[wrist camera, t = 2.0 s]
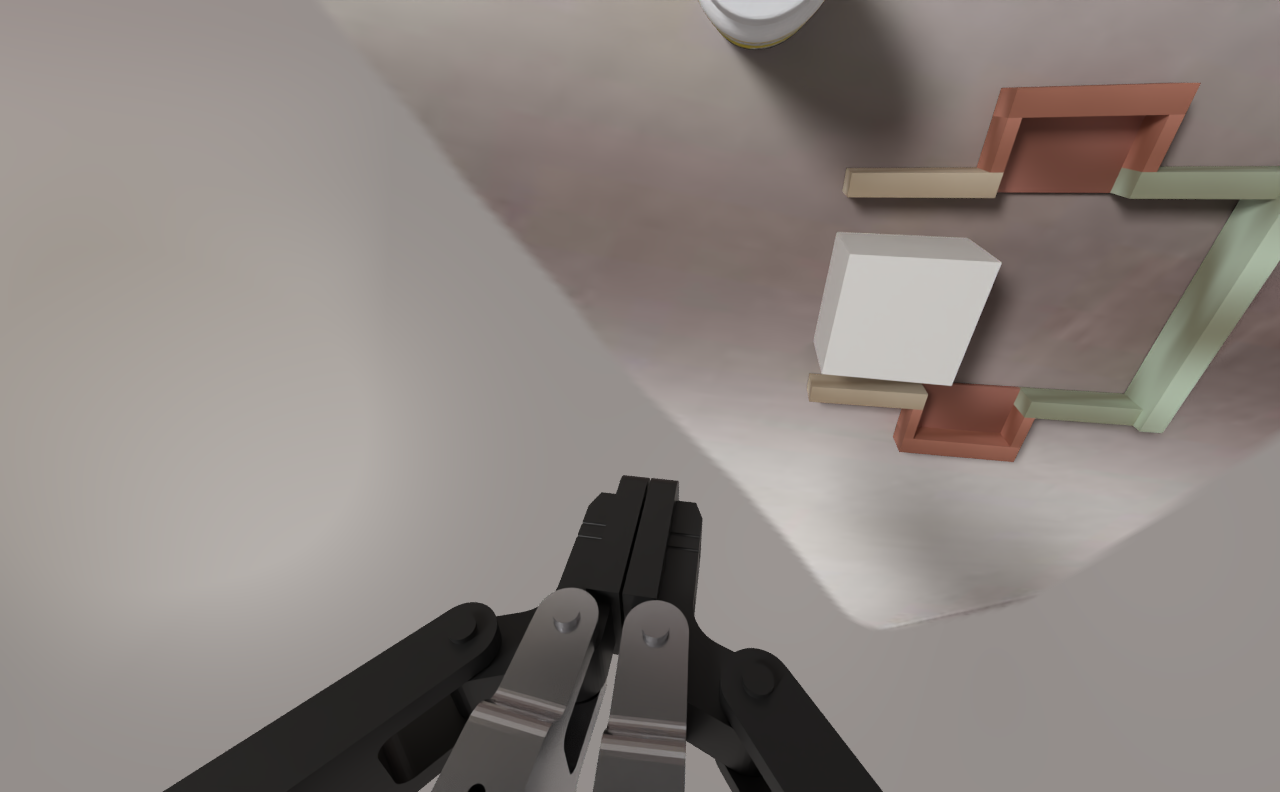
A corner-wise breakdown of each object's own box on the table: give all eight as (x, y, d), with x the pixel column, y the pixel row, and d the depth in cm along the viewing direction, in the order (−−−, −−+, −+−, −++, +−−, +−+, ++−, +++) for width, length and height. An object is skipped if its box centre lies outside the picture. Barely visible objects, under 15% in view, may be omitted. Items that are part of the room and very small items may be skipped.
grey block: (836, 230, 24) (849, 254, 21) (966, 237, 24) (1001, 262, 20) (813, 339, 28) (821, 373, 24) (926, 348, 27) (951, 385, 23)
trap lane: (860, 92, 21) (869, 93, 19) (1344, 77, 18) (1404, 77, 17) (799, 428, 31) (802, 448, 29) (1109, 454, 28) (1131, 477, 26)
